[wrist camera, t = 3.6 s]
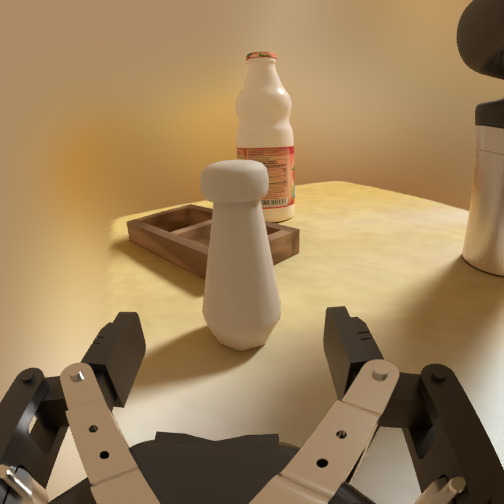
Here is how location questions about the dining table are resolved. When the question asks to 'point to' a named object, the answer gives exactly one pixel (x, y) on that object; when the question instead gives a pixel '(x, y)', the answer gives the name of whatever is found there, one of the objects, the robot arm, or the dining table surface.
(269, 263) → the salt shaker
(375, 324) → the dining table surface
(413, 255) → the dining table surface
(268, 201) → the fruit juice
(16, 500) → the robot arm
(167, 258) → the caddy
